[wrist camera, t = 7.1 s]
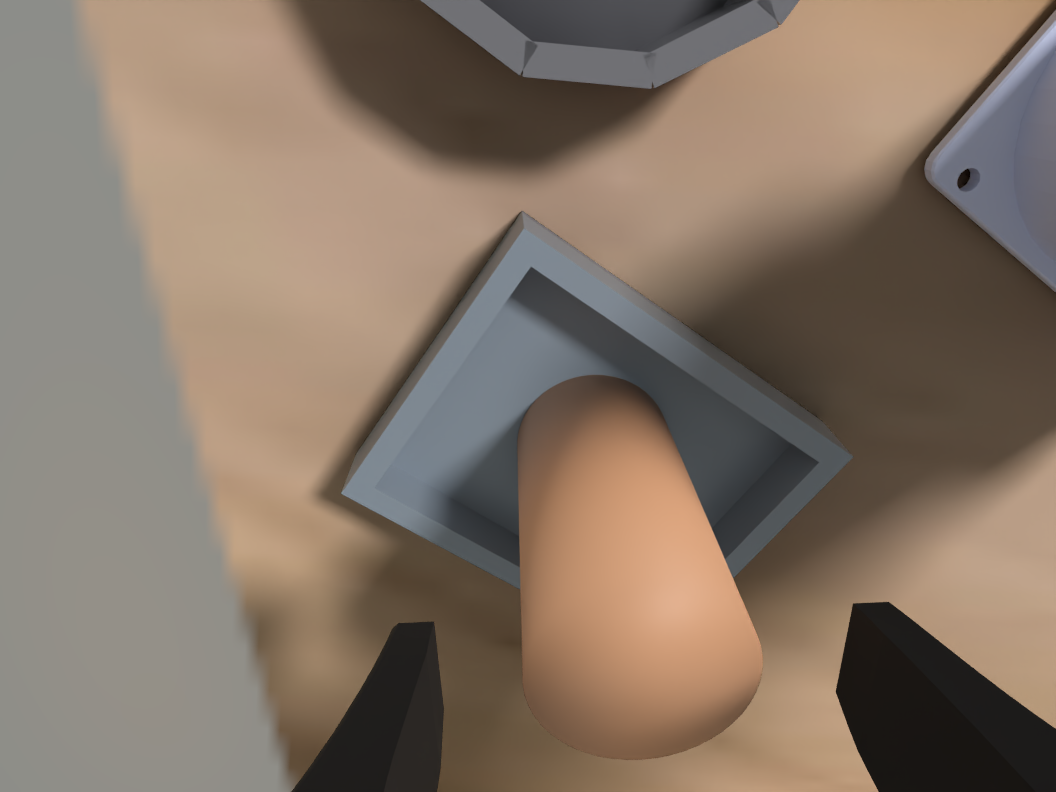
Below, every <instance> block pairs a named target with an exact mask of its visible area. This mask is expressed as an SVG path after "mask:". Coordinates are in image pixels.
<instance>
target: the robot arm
mask: <svg viewBox="0 0 1056 792" xmlns="http://www.w3.org/2000/svg"><path fill="white" fill-rule="evenodd" d="M966 169H969V171H970V179H969V181H968V182H967V184H966V185H965V186H963V187H962V188H958V186H957V179H958V177H959V175H960V174H961V173H962V172H963V171H964V170H966ZM924 171H925V177H926V179H927V180H928V182H929V183H930V184H931V185H932V186H933V187H935V188H936V189H937V190H938V191H939V192H940V193H941V194H943V195H944V196H945V197H946V198H947V199H948V200H950V201H951V202H952V203H953V204H954V205H955V206H956V207H958V208H959V209H960V210H961V211H962V212H963V213H965V214H966V215H967V216H968V217H969V218H970V219H971V220H973V221H974V222H975V223H976V224H977V225H978V226H980V227H981V228H982V229H983V230H984V231H985V232H986V233H988V234H989V235H990V236H991V237H992V238H993V239H995V240H996V241H997V242H998V243H999V244H1000V245H1001V246H1003V247H1004V248H1005V249H1006V250H1007V251H1008V252H1010V253H1011V254H1012V255H1013V256H1014V257H1015V258H1016V259H1018V260H1019V261H1020V262H1021V263H1022V264H1023V265H1025V266H1026V267H1027V268H1028V269H1029V270H1030V271H1031V272H1033V273H1034V274H1035V275H1036V276H1037V277H1038V278H1040V279H1041V280H1042V281H1043V282H1044V283H1045V284H1046V285H1048V286H1049V287H1050V288H1051V289H1052V290H1053V291H1054V292H1056V10H1055V11H1054V12H1053V14H1052V15H1051V16H1050V17H1049V18H1048V19H1047V21H1046V22H1045V23H1044V24H1043V25H1042V26H1041V27H1040V29H1039V30H1038V31H1037V32H1036V33H1035V34H1034V35H1033V37H1032V38H1031V39H1030V40H1029V41H1028V42H1027V43H1026V45H1025V46H1024V47H1023V48H1022V49H1021V50H1020V51H1019V53H1018V54H1017V55H1016V56H1015V57H1014V58H1013V59H1012V61H1011V62H1010V63H1009V64H1008V65H1007V66H1006V67H1005V69H1004V70H1003V71H1002V72H1001V73H1000V74H999V75H998V77H997V78H996V79H995V80H994V81H993V82H992V83H991V85H990V86H989V87H988V88H987V89H986V90H985V91H984V93H983V94H982V95H981V96H980V97H979V98H978V99H977V101H976V102H975V103H974V104H973V105H972V106H971V107H970V109H969V110H968V111H967V112H966V113H965V114H964V115H963V117H962V118H961V119H960V120H959V121H958V122H957V123H956V125H955V126H954V127H953V128H952V129H951V130H950V131H949V133H948V134H947V135H946V136H945V137H944V138H943V139H942V141H941V142H940V143H939V144H938V145H937V146H936V147H935V149H934V150H933V151H932V152H931V154H930V155H929V157H928V158H927V160H926V163H925V168H924ZM836 694H837V696H838V699H839V702H840V705H841V708H842V710H843V713H844V716H845V719H846V721H847V724H848V727H849V729H850V732H851V734H852V737H853V740H854V742H855V745H856V747H857V750H858V752H859V754H860V756H861V758H862V760H863V762H864V764H865V766H866V768H867V770H868V772H869V774H870V776H871V778H872V780H873V782H874V784H875V785H876V787H877V789H878V791H879V792H1056V729H1055V728H1054V727H1052V726H1051V725H1049V724H1048V723H1047V722H1045V721H1044V720H1042V719H1041V718H1039V717H1038V716H1036V715H1035V714H1034V713H1032V712H1031V711H1030V710H1028V709H1027V708H1025V707H1024V706H1023V705H1021V704H1020V703H1019V702H1017V701H1016V700H1015V699H1013V698H1012V697H1010V696H1009V695H1008V694H1006V693H1005V692H1004V691H1002V690H1001V689H1000V688H998V687H997V686H996V685H995V684H993V683H992V682H991V681H989V680H988V679H987V678H985V677H984V676H983V675H981V674H980V673H979V672H978V671H976V670H975V669H974V668H972V667H971V666H970V665H969V664H967V663H966V662H965V661H963V660H962V659H961V658H960V657H958V656H957V655H956V654H955V653H953V652H952V651H951V650H949V649H948V648H947V647H946V646H944V645H943V644H942V643H941V642H939V641H938V640H937V639H936V638H934V637H933V636H932V635H931V634H929V633H928V632H927V631H925V630H924V629H923V628H922V627H920V626H919V625H918V624H917V623H915V622H914V621H913V620H912V619H910V618H909V617H908V616H906V615H905V614H904V613H903V612H901V611H900V610H899V609H897V608H896V607H895V606H893V605H892V604H891V603H889V602H878V603H855V604H853V607H852V612H851V617H850V622H849V627H848V632H847V637H846V643H845V648H844V653H843V658H842V663H841V668H840V673H839V678H838V683H837V688H836ZM443 713H444V707H443V698H442V689H441V680H440V671H439V663H438V654H437V645H436V636H435V627H434V622H417V623H398V624H397V625H396V626H395V627H394V628H393V629H392V631H391V633H390V635H389V637H388V640H387V642H386V644H385V646H384V648H383V650H382V652H381V653H380V655H379V657H378V659H377V661H376V663H375V665H374V667H373V668H372V670H371V672H370V674H369V675H368V677H367V679H366V681H365V683H364V684H363V686H362V688H361V689H360V691H359V693H358V694H357V696H356V698H355V699H354V701H353V702H352V704H351V706H350V707H349V709H348V711H347V712H346V714H345V715H344V717H343V719H342V720H341V722H340V724H339V725H338V727H337V728H336V730H335V731H334V733H333V734H332V736H331V737H330V739H329V740H328V741H327V743H326V744H325V746H324V747H323V749H322V750H321V751H320V753H319V754H318V756H317V757H316V759H315V760H314V762H313V763H312V764H311V766H310V767H309V769H308V770H307V772H306V773H305V774H304V776H303V777H302V778H301V780H300V781H299V782H298V784H297V785H296V786H295V788H294V789H293V790H292V792H437V788H438V781H439V775H440V766H441V750H442V732H443Z"/></svg>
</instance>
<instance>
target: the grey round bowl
mask: <svg viewBox="0 0 1056 792" xmlns="http://www.w3.org/2000/svg"><path fill="white" fill-rule="evenodd" d="M421 1H422V2H423V3H425V4H426V5H427V6H429V7H430V8H431V9H433V10H434V11H435V12H436V13H438V14H439V15H440V16H442V17H443V18H444V19H446V20H447V21H448V22H450V23H451V24H452V25H454V26H455V27H456V28H458V29H459V30H460V31H462V32H463V33H464V34H465V35H467V36H468V37H469V38H471V39H472V40H473V41H475V42H476V43H477V44H479V45H480V46H481V47H483V48H484V49H485V50H487V51H488V52H489V53H490V54H492V55H493V56H494V57H496V58H497V59H498V60H500V61H501V62H502V63H504V64H505V65H506V66H508V67H509V68H510V69H512V70H513V71H514V72H516V73H517V74H518V75H519V76H520V75H521V76H522V77H530V78H541V79H552V80H562V81H573V82H584V83H594V84H605V85H616V86H627V87H637V88H648V89H651V88H656V87H658V86H660V85H662V84H664V83H666V82H668V81H670V80H672V79H674V78H676V77H678V76H680V75H682V74H684V73H686V72H688V71H690V70H692V69H694V68H696V67H699V66H701V65H703V64H705V63H707V62H709V61H711V60H713V59H715V58H717V57H719V56H721V55H723V54H725V53H727V52H729V51H731V50H733V49H735V48H737V47H739V46H741V45H743V44H745V43H747V42H749V41H751V40H753V39H755V38H757V37H759V36H761V35H763V34H765V33H767V32H769V31H771V30H773V29H775V28H777V27H778V25H781V24H782V23H783V22H784V20H785V19H786V18H787V16H788V15H789V14H790V12H791V11H792V10H793V8H794V7H795V5H796V4H797V3H798V1H799V0H421Z"/></svg>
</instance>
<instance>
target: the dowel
mask: <svg viewBox="0 0 1056 792" xmlns="http://www.w3.org/2000/svg"><path fill="white" fill-rule="evenodd" d="M517 458H518V501H519V545H520V589H521V633H522V676H523V689H524V694H525V698H526V700H527V703H528V706H529V708H530V709H531V711H532V713H533V715H534V716H535V718H536V719H537V720H538V721H539V723H540V724H541V725H542V726H543V727H544V728H545V729H546V730H547V731H548V732H549V733H550V734H552V735H553V736H554V737H556V738H557V739H559V740H560V741H562V742H563V743H565V744H567V745H569V746H571V747H573V748H575V749H578V750H580V751H583V752H585V753H589V754H592V755H596V756H600V757H606V758H612V759H624V760H641V759H651V758H658V757H663V756H668V755H673V754H676V753H679V752H683V751H686V750H688V749H691V748H693V747H696V746H698V745H700V744H702V743H704V742H706V741H708V740H710V739H712V738H713V737H715V736H716V735H718V734H719V733H721V732H722V731H724V730H725V729H726V728H727V727H729V726H730V725H731V724H732V723H733V722H734V721H735V720H736V719H737V718H738V717H739V716H740V715H741V714H742V713H743V712H744V710H745V709H746V708H747V706H748V705H749V704H750V702H751V700H752V699H753V697H754V695H755V693H756V691H757V688H758V686H759V683H760V680H761V675H762V670H763V655H762V649H761V644H760V641H759V639H758V636H757V633H756V631H755V629H754V626H753V624H752V622H751V619H750V617H749V615H748V612H747V610H746V608H745V605H744V603H743V601H742V598H741V596H740V594H739V591H738V589H737V587H736V584H735V582H734V580H733V577H732V575H731V573H730V570H729V568H728V566H727V563H726V561H725V559H724V556H723V554H722V552H721V549H720V547H719V545H718V542H717V540H716V538H715V535H714V533H713V531H712V528H711V526H710V524H709V521H708V519H707V517H706V514H705V512H704V510H703V507H702V505H701V503H700V500H699V498H698V496H697V493H696V491H695V489H694V486H693V484H692V482H691V479H690V477H689V475H688V472H687V470H686V468H685V465H684V463H683V461H682V458H681V456H680V454H679V451H678V449H677V447H676V444H675V442H674V440H673V437H672V435H671V433H670V430H669V428H668V426H667V423H666V421H665V419H664V416H663V414H662V412H661V410H660V408H659V407H658V405H657V404H656V402H655V401H654V400H653V399H652V398H651V397H650V396H649V395H648V394H647V393H646V392H645V391H644V390H642V389H641V388H640V387H638V386H636V385H635V384H633V383H631V382H629V381H626V380H623V379H621V378H617V377H613V376H606V375H586V376H579V377H575V378H571V379H568V380H566V381H563V382H561V383H559V384H557V385H555V386H553V387H551V388H550V389H548V390H547V391H545V392H544V393H543V394H542V395H541V396H540V397H538V398H537V399H536V400H535V402H534V403H533V404H532V405H531V406H530V408H529V409H528V411H527V412H526V414H525V416H524V418H523V420H522V422H521V425H520V428H519V432H518V439H517Z"/></svg>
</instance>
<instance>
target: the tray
mask: <svg viewBox="0 0 1056 792" xmlns="http://www.w3.org/2000/svg"><path fill="white" fill-rule="evenodd" d="M586 375H606V376H613V377H617V378H621V379H623V380H626V381H629V382H631V383H633V384H635V385H636V386H638V387H640V388H641V389H642V390H644V391H645V392H646V393H647V394H648V395H649V396H650V397H651V398H652V399H653V400H654V401H655V402H656V404H657V405H658V407H659V408H660V410H661V412H662V414H663V416H664V419H665V421H666V423H667V426H668V428H669V430H670V433H671V435H672V437H673V440H674V442H675V444H676V447H677V449H678V451H679V454H680V456H681V458H682V461H683V463H684V465H685V468H686V470H687V472H688V475H689V477H690V479H691V482H692V484H693V486H694V489H695V491H696V493H697V496H698V498H699V500H700V503H701V505H702V507H703V510H704V512H705V514H706V517H707V519H708V521H709V524H710V526H711V528H712V531H713V533H714V535H715V538H716V540H717V542H718V545H719V547H720V549H721V552H722V554H723V556H724V559H725V561H726V563H727V566H728V568H729V570H730V573H731V575H732V577H733V578H734V577H735V576H736V575H737V574H738V573H739V572H740V571H741V570H742V569H743V568H744V567H745V566H746V565H747V564H748V563H749V562H750V561H751V560H752V559H753V558H754V557H755V556H756V555H757V554H758V553H759V552H760V551H761V550H762V549H763V548H764V547H765V546H766V545H767V544H768V543H769V542H770V541H771V540H772V539H773V538H774V537H775V536H776V535H777V534H778V533H779V532H780V531H781V530H782V529H783V528H784V527H785V526H786V525H787V523H788V522H789V521H790V520H791V519H792V518H793V517H794V516H795V515H796V514H797V513H798V512H799V511H800V510H801V509H802V508H803V507H804V506H805V505H806V504H807V503H808V502H809V501H810V500H811V499H812V498H813V497H814V496H815V495H816V494H817V493H818V492H819V491H820V490H821V489H822V488H823V487H824V486H825V485H826V484H827V483H828V482H829V481H830V480H831V479H832V478H833V477H834V476H835V475H836V474H837V473H838V472H839V471H840V470H841V469H842V468H843V467H844V466H845V465H846V464H847V463H848V462H849V461H850V460H851V459H852V458H853V456H852V455H851V453H850V452H849V451H848V450H847V449H846V448H845V447H844V445H843V444H842V443H841V442H840V441H839V440H838V439H837V437H836V436H835V435H834V434H833V433H832V432H831V431H830V430H829V428H828V427H827V426H826V425H825V424H824V423H823V422H822V421H821V420H820V419H818V418H817V417H816V416H814V415H813V414H811V413H810V412H808V411H807V410H806V409H804V408H803V407H801V406H800V405H799V404H797V403H796V402H794V401H793V400H791V399H790V398H789V397H787V396H786V395H784V394H783V393H781V392H780V391H779V390H777V389H776V388H774V387H773V386H771V385H770V384H769V383H767V382H766V381H764V380H763V379H761V378H760V377H759V376H757V375H756V374H754V373H753V372H751V371H750V370H749V369H747V368H746V367H744V366H743V365H741V364H740V363H739V362H737V361H736V360H734V359H733V358H731V357H730V356H729V355H727V354H726V353H724V352H723V351H722V350H720V349H719V348H717V347H716V346H714V345H713V344H712V343H710V342H709V341H707V340H706V339H704V338H703V337H702V336H700V335H699V334H697V333H696V332H694V331H693V330H692V329H690V328H689V327H687V326H686V325H684V324H683V323H682V322H680V321H679V320H677V319H676V318H674V317H673V316H672V315H670V314H669V313H667V312H666V311H664V310H663V309H662V308H660V307H659V306H657V305H656V304H654V303H653V302H652V301H650V300H649V299H647V298H646V297H645V296H643V295H642V294H640V293H639V292H637V291H636V290H635V289H633V288H632V287H630V286H629V285H627V284H626V283H625V282H623V281H622V280H620V279H619V278H617V277H616V276H615V275H613V274H612V273H610V272H609V271H607V270H606V269H605V268H603V267H602V266H600V265H599V264H597V263H596V262H595V261H593V260H592V259H590V258H589V257H587V256H586V255H585V254H583V253H582V252H580V251H579V250H577V249H576V248H575V247H573V246H572V245H570V244H569V243H567V242H566V241H565V240H563V239H562V238H560V237H559V236H558V235H556V234H555V233H553V232H552V231H550V230H549V229H548V228H546V227H545V226H543V225H542V224H540V223H539V222H538V221H536V220H535V219H533V218H532V217H530V216H529V215H528V214H526V213H525V212H523V211H521V213H520V214H519V216H518V217H517V219H516V220H515V222H514V223H513V224H512V226H511V227H510V229H509V230H508V232H507V233H506V235H505V236H504V238H503V239H502V241H501V242H500V244H499V245H498V246H497V248H496V249H495V251H494V252H493V254H492V255H491V257H490V258H489V260H488V261H487V263H486V264H485V266H484V267H483V268H482V270H481V271H480V273H479V274H478V276H477V277H476V279H475V280H474V282H473V283H472V285H471V286H470V288H469V289H468V290H467V292H466V293H465V295H464V296H463V298H462V299H461V301H460V302H459V304H458V305H457V307H456V308H455V310H454V311H453V312H452V314H451V315H450V317H449V318H448V320H447V321H446V323H445V324H444V326H443V327H442V329H441V330H440V332H439V333H438V334H437V336H436V337H435V339H434V340H433V342H432V343H431V345H430V346H429V348H428V349H427V351H426V352H425V354H424V355H423V356H422V358H421V359H420V361H419V362H418V364H417V365H416V367H415V368H414V370H413V371H412V373H411V374H410V376H409V377H408V378H407V380H406V381H405V383H404V384H403V386H402V387H401V389H400V390H399V392H398V393H397V395H396V396H395V398H394V399H393V400H392V402H391V403H390V405H389V406H388V408H387V409H386V411H385V412H384V414H383V415H382V417H381V418H380V420H379V421H378V422H377V424H376V425H375V427H374V428H373V430H372V431H371V433H370V434H369V436H368V437H367V439H366V440H365V442H364V443H363V444H362V446H361V447H360V449H359V450H358V452H357V453H356V455H355V458H354V460H353V463H352V466H351V468H350V471H349V474H348V476H347V479H346V482H345V484H344V487H343V490H342V492H341V494H343V495H344V496H346V497H348V498H350V499H352V500H354V501H356V502H357V503H359V504H361V505H363V506H365V507H367V508H369V509H371V510H372V511H374V512H376V513H378V514H380V515H382V516H384V517H385V518H387V519H389V520H391V521H393V522H395V523H397V524H399V525H400V526H402V527H404V528H406V529H408V530H410V531H412V532H413V533H415V534H417V535H419V536H421V537H423V538H425V539H427V540H428V541H430V542H432V543H434V544H436V545H438V546H440V547H442V548H443V549H445V550H447V551H449V552H451V553H453V554H455V555H456V556H458V557H460V558H462V559H464V560H466V561H468V562H470V563H471V564H473V565H475V566H477V567H479V568H481V569H483V570H484V571H486V572H488V573H490V574H492V575H494V576H496V577H498V578H499V579H501V580H503V581H505V582H507V583H509V584H511V585H512V586H514V587H516V588H518V589H520V545H519V501H518V458H517V439H518V432H519V428H520V425H521V422H522V420H523V418H524V416H525V414H526V412H527V411H528V409H529V408H530V406H531V405H532V404H533V403H534V402H535V400H536V399H537V398H538V397H540V396H541V395H542V394H543V393H544V392H545V391H547V390H548V389H550V388H551V387H553V386H555V385H557V384H559V383H561V382H563V381H566V380H568V379H571V378H575V377H579V376H586ZM520 590H521V589H520Z"/></svg>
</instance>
